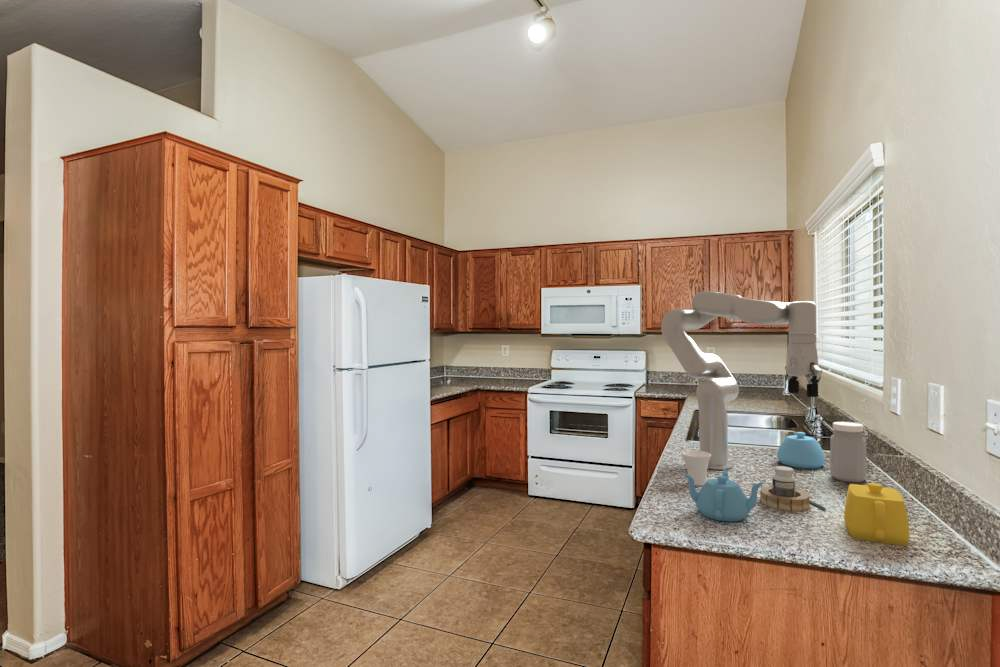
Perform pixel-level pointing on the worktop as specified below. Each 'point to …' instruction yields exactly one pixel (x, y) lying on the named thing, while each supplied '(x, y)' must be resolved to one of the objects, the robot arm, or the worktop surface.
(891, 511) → the teapot
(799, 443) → the sugar bowl
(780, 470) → the pill bottle
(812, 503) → the green stick
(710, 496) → the teapot
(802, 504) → the segmented tan ring
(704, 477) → the cup
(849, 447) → the jar
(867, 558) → the worktop surface
